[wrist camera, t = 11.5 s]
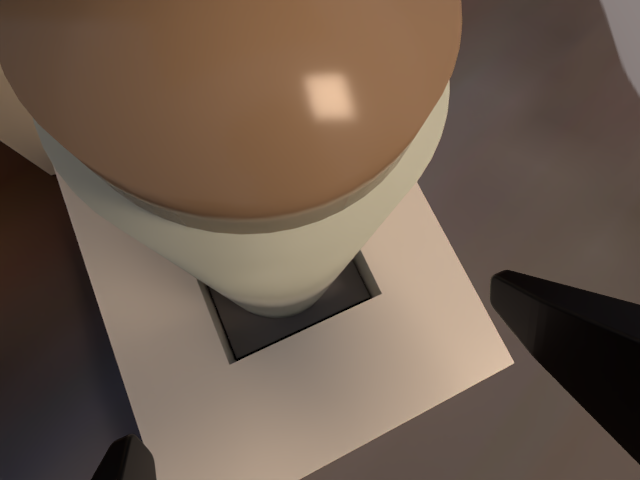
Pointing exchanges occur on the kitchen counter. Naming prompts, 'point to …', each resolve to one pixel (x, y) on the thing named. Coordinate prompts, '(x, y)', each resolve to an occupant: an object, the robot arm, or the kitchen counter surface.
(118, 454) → the robot arm
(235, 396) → the light wood frame
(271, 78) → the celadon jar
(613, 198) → the kitchen counter surface
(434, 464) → the kitchen counter surface
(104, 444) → the kitchen counter surface
